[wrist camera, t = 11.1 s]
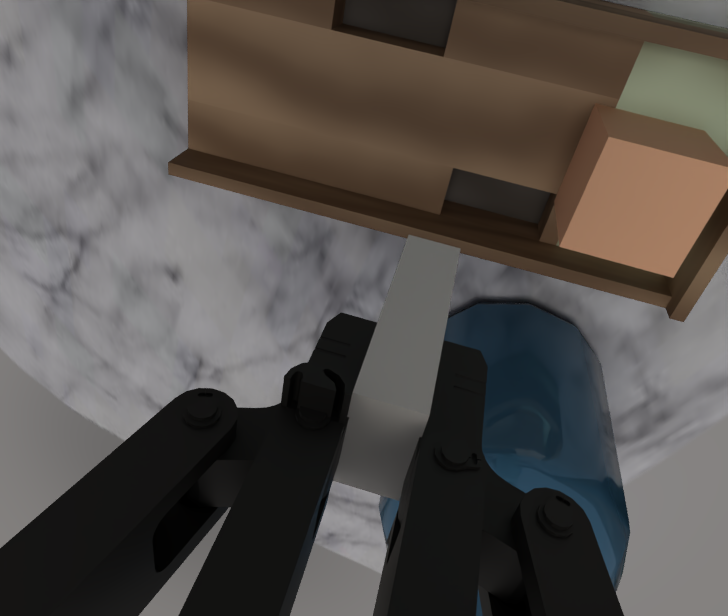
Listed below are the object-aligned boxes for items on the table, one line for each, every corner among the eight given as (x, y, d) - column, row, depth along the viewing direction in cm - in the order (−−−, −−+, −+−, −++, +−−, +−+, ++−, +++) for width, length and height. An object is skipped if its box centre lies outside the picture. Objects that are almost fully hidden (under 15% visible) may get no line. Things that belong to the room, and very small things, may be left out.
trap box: (208, -90, 30) (149, -91, 25) (789, 43, 28) (846, 69, 23) (206, 147, 38) (159, 180, 33) (661, 266, 35) (683, 322, 30)
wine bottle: (503, 256, 37) (470, 877, 13) (642, 373, 40) (829, 1073, 16) (377, 366, 45) (211, 887, 21) (501, 458, 48) (480, 1017, 23)
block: (595, 103, 29) (608, 136, 24) (704, 130, 28) (738, 170, 24) (554, 201, 32) (559, 246, 28) (651, 227, 32) (673, 277, 27)
